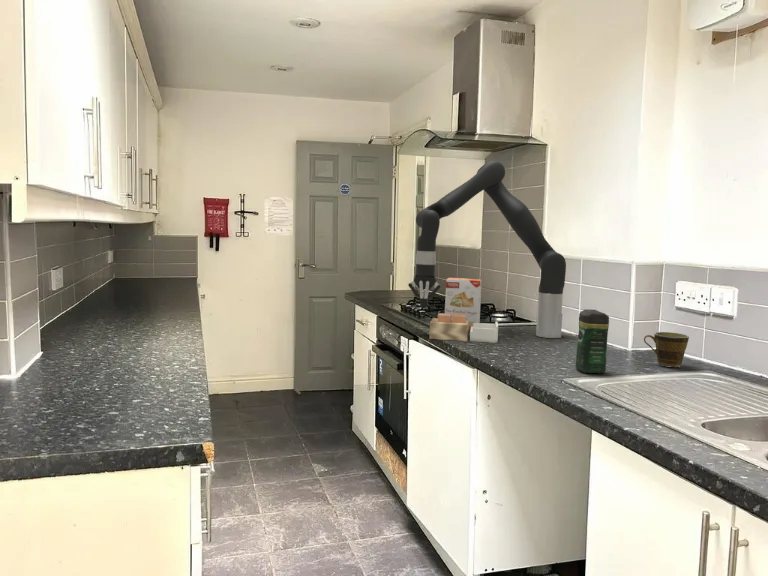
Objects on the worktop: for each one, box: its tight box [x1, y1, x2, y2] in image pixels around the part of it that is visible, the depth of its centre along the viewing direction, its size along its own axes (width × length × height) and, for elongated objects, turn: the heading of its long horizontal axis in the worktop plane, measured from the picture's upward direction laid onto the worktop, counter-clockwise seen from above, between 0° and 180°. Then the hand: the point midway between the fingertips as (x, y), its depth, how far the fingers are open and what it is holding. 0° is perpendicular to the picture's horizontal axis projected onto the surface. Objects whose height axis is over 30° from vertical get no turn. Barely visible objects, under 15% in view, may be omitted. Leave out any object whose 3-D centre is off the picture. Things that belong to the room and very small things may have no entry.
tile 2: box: [452, 314, 466, 323], centre depth 231 cm, size 5×5×2 cm
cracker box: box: [444, 277, 483, 332], centre depth 249 cm, size 14×6×21 cm, turn 75°
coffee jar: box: [575, 308, 610, 374], centre depth 183 cm, size 10×8×19 cm
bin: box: [469, 321, 499, 344], centre depth 230 cm, size 10×12×6 cm
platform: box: [429, 317, 469, 342], centre depth 232 cm, size 14×12×6 cm
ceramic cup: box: [643, 331, 690, 367], centre depth 194 cm, size 13×10×10 cm
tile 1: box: [437, 312, 452, 323], centre depth 232 cm, size 5×5×2 cm
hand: (423, 308), depth 233 cm, fingers closed
